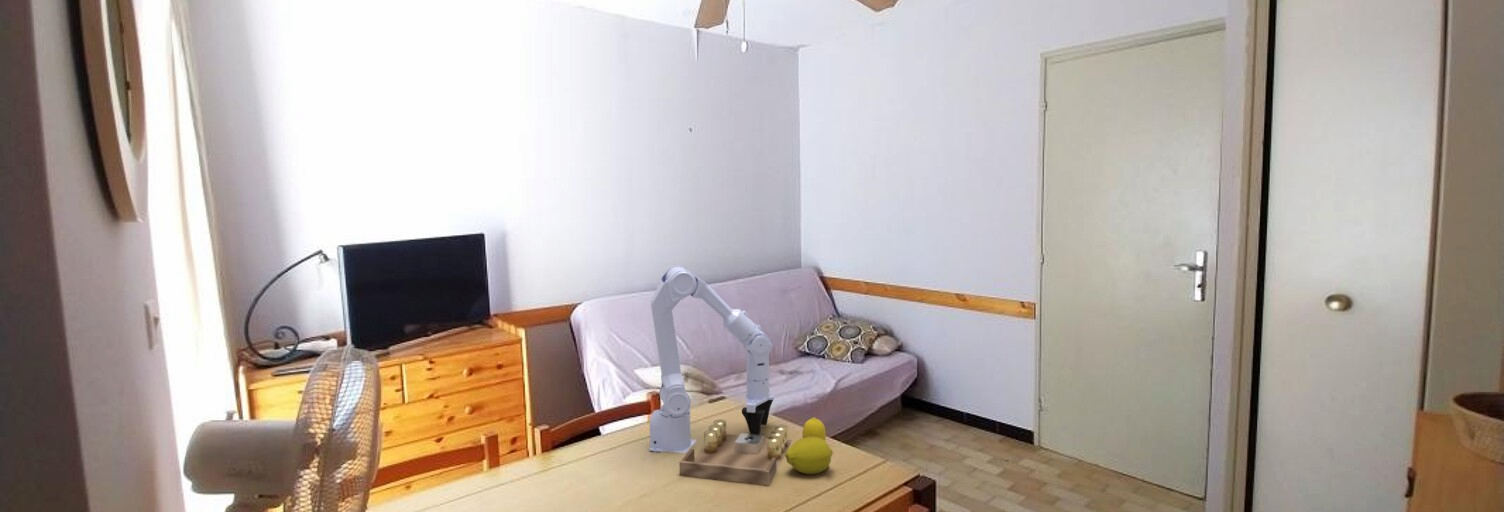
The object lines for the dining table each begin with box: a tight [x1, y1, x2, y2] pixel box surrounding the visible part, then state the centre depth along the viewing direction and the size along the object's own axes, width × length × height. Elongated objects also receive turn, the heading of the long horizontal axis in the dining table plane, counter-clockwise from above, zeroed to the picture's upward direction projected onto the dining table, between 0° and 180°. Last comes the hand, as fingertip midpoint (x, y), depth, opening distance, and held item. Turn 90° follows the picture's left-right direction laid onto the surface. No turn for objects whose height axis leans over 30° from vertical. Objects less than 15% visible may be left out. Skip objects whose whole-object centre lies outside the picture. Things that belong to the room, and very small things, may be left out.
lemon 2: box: [784, 437, 833, 475], centre depth 137 cm, size 11×8×8 cm
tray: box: [678, 433, 793, 487], centre depth 145 cm, size 20×24×4 cm
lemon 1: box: [802, 417, 827, 442], centre depth 149 cm, size 6×6×8 cm
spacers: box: [703, 418, 789, 460], centre depth 149 cm, size 19×10×4 cm, turn 75°
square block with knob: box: [735, 432, 765, 454], centre depth 149 cm, size 6×6×2 cm
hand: (758, 430), depth 158 cm, fingers open, 7 cm apart
